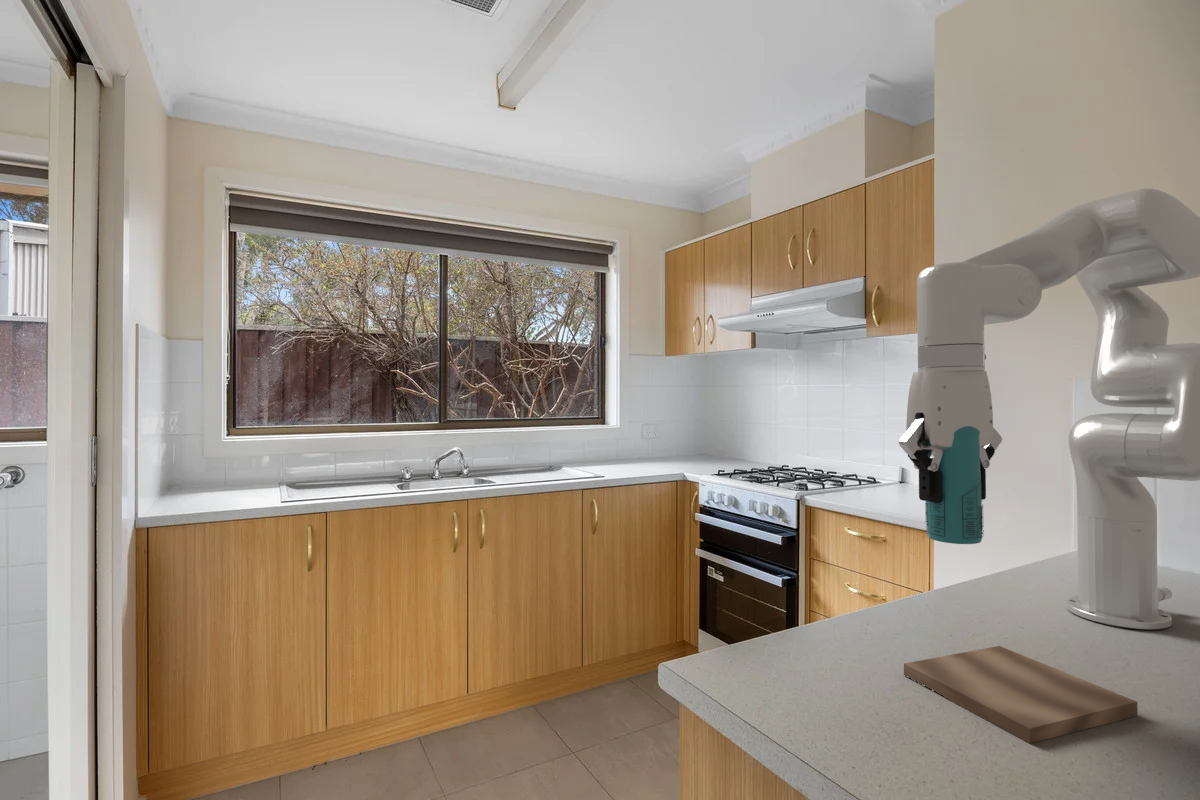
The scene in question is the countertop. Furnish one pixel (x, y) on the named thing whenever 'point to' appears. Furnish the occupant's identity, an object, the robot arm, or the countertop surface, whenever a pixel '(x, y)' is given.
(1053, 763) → the countertop surface
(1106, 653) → the countertop surface
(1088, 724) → the walnut board
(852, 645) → the countertop surface
